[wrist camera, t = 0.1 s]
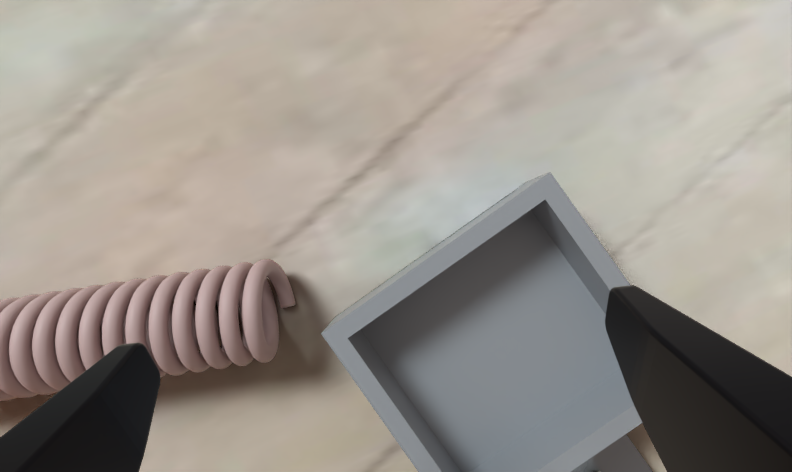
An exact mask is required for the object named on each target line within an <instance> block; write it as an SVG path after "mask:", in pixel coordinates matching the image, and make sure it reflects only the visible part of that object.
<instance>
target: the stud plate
mask: <svg viewBox="0 0 792 472" xmlns="http://www.w3.org/2000/svg"><path fill="white" fill-rule="evenodd" d="M599 470H600V471H601V472H653V471H652V470H651V468H650V467H649V465H648V464H647V463H646V461H645V460H644V458H643V457H642V456H641V454H640V453H639V451H638V450H637V449H636V447H635V446H634V444H633V443H632V441H631V440H630V439H629V437H628V436H627V434H625V435H624V436H622V437H621V438H619V439H618V440H616V441H615V442H613V443H612V444H610V445H609V446H608V447H606V448H605V449H603V450H602V451H600V452H599V453H597V454H596V455H594V456H593V457H591V458H590V459H588V460H587V461H585V462H584V463H583V464H581V465H580V466H578V467H577V468H575V469H574V470H572V471H571V472H598V471H599Z"/></svg>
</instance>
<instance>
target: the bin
mask: <svg viewBox="0 0 792 472" xmlns="http://www.w3.org/2000/svg"><path fill="white" fill-rule="evenodd" d="M628 285H630V284H629V282H628V281H627V280H626V278H625V277H624V275H623V274H622V273H621V271H620V270H619V268H618V267H617V265H616V264H615V263H614V261H613V260H612V258H611V257H610V256H609V254H608V253H607V251H606V250H605V249H604V247H603V246H602V244H601V243H600V242H599V240H598V239H597V237H596V236H595V235H594V233H593V232H592V230H591V229H590V227H589V226H588V225H587V223H586V222H585V220H584V219H583V218H582V216H581V215H580V213H579V212H578V211H577V209H576V208H575V206H574V205H573V204H572V202H571V201H570V199H569V198H568V197H567V195H566V194H565V192H564V191H563V189H562V188H561V187H560V185H559V184H558V182H557V181H556V180H555V178H554V177H553V175H552V174H551V173H550V172H549V173H547V174H544V175H542V176H540V177H537V178H535V179H532V180H530V181H527V182H526V183H524V184H523V185H521V186H520V187H519V188H517V189H516V190H514V191H513V192H512V193H510V194H509V195H507V196H506V197H504V198H503V199H502V200H500V201H499V202H497V203H496V204H495V205H493V206H492V207H490V208H489V209H487V210H486V211H485V212H483V213H482V214H480V215H479V216H478V217H476V218H475V219H473V220H472V221H470V222H469V223H468V224H466V225H465V226H463V227H462V228H460V229H459V230H458V231H456V232H455V233H453V234H452V235H451V236H449V237H448V238H446V239H445V240H443V241H442V242H441V243H439V244H438V245H436V246H435V247H434V248H432V249H431V250H429V251H428V252H426V253H425V254H424V255H422V256H421V257H419V258H418V259H417V260H415V261H414V262H412V263H411V264H409V265H408V266H407V267H405V268H404V269H402V270H401V271H399V272H398V273H397V274H395V275H394V276H392V277H391V278H390V279H388V280H387V281H385V282H384V283H382V284H381V285H380V286H378V287H377V288H375V289H374V290H373V291H371V292H370V293H368V294H367V295H365V296H364V297H363V298H361V299H360V300H358V301H357V302H356V303H354V304H353V305H351V306H350V307H348V308H347V309H346V310H344V311H343V312H341V313H340V314H338V315H337V316H336V317H335V318H334V319H333V320H332V321H331V322H330V324H329V325H328V326H327V327H326V328H325V330H324V331H323V332H322V333H321V334H322V336H323V337H324V339H325V340H326V341H327V343H328V344H329V346H330V347H331V348H332V350H333V351H334V353H335V354H336V356H337V357H338V358H339V360H340V361H341V363H342V364H343V366H344V367H345V368H346V370H347V371H348V373H349V374H350V375H351V377H352V378H353V380H354V381H355V383H356V384H357V385H358V387H359V388H360V390H361V391H362V392H363V394H364V395H365V397H366V398H367V400H368V401H369V402H370V404H371V405H372V407H373V408H374V409H375V411H376V412H377V414H378V415H379V417H380V418H381V419H382V421H383V422H384V424H385V425H386V426H387V428H388V429H389V431H390V432H391V434H392V435H393V436H394V438H395V439H396V441H397V442H398V443H399V445H400V446H401V448H402V449H403V451H404V452H405V453H406V455H407V456H408V458H409V459H410V460H411V462H412V463H413V465H414V466H415V468H416V469H417V470H418V472H571V471H572V470H574V469H575V468H577V467H578V466H580V465H581V464H583V463H584V462H585V461H587V460H588V459H590V458H591V457H593V456H594V455H596V454H597V453H599V452H600V451H602V450H603V449H605V448H606V447H608V446H609V445H610V444H612V443H613V442H615V441H616V440H618V439H619V438H621V437H622V436H624V435H625V434H627V433H628V432H630V431H631V430H633V429H634V428H635V427H637V426H638V425H640V424H641V423H642V421H641V419H640V417H639V415H638V413H637V410H636V408H635V406H634V404H633V402H632V399H631V396H630V394H629V391H628V389H627V386H626V383H625V380H624V378H623V375H622V372H621V370H620V367H619V364H618V361H617V359H616V356H615V353H614V351H613V348H612V345H611V342H610V340H609V337H608V334H607V331H606V327H605V316H606V310H607V303H608V296H609V292H610V290H611V289H612V288H614V287H619V286H628Z"/></svg>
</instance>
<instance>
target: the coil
mask: <svg viewBox="0 0 792 472" xmlns="http://www.w3.org/2000/svg"><path fill="white" fill-rule="evenodd" d="M266 277H268V278H269V279H270V281H271V282H272V284H273V286H274V288H275V291H276V293H277V296H278V299H279V303H280V307H281V308H285V307H289V306H293V305H296V303H295V299H294V295H293V292H292V289H291V286H290V283H289V280H288V278H287V276H286V274H285V272H284V271H283V269H282V268H281V267H280V266H279V265H278V264H277V263H276V262H274V261H273V260H270V259H262V260H260V261H258V262H256V263H255V264H254V265H253V264H251V263H248V262H243V263H239V264H237V265H235V266H234V267H230V266H218V267H216V268H214V269H212V270H209V269H197V270H195V271H193V272H191V273H186V272H178V273H174V274H172V275H170V276H163V275H158V276H153V277H151V278H149V279H132V280H130V281H128V282H113V283H109V284H107V285H93V286H88V287H86V288H73V289H68V290H65V291H63V292H61V291H53V292H48V293H45V294H42V295H28V296H24V297H22V298H8V299H4V300H1V301H0V401H5V400H12V399H15V398H17V397H18V398H25V397H32V396H36V395H38V394H41V395H44V394H53V393H57V392H58V391H60V390H62V389H63V388H64V387H66V386H67V385H68V384H69V383H71V382H72V381H73V380H75V379H76V378H77V377H78V376H80V375H81V374H82V373H84V372H85V371H86V370H87V369H89V368H90V367H91V366H93V365H94V364H95V363H96V362H98V361H99V360H100V359H101V358H103V357H104V356H105V355H107V354H108V353H109V352H110V351H112V350H113V349H114V348H116V347H117V346H119V345H122V344H128V343H142V344H143V345H145V346H146V348H147V350H148V351H149V353H150V355H151V357H152V359H153V360H154V362H155V364H156V366H157V367H158V369H159V372H160V378H161V377H163V376H164V375H166V374H167V373H168V374H170V375H182V374H184V373H186V372H187V371H188V370H191V371H193V372H203V371H205V370H207V369H208V368H209V367H211V366H212V367H214V368H215V369H224V368H226V367H228V366H229V365H231V364H232V362H233V363H235V364H236V365H238V366H245V365H248V364H249V363H251V362H252V361H253V359H254V358H255V359H256V360H257V361H259V362H262V363H267V362H269V361H271V360H272V359H273V358H274V356H275V355H276V353H277V350H278V345H279V323H278V315H277V309H276V305H275V301H274V297H273V294H272V291H271V288H270V285H269V283H268V281H267V279H266ZM245 279H246V280H245ZM172 300H173V302H174V304H173V303H172ZM194 301H195V303H196V310H195V306H194V303H193V302H194ZM151 302H152V303H151ZM216 302H217V305H218V307H219V322H218V317H217V312H216V308H215V305H216ZM238 305H239V308H240V313H241V318H242V327H243V338H242V339H241V335H240V329H239V320H238ZM79 324H80V326H79ZM100 326H101V328H102V335H101V331H100ZM219 327H220V334H221V339H222V345H221V348H220V346H219ZM123 340H124V343H123ZM102 344H103V350H104V351H103V353H102ZM199 347H200V350H201V351H200V353H199V352H198V350H199ZM178 356H179V357H178Z"/></svg>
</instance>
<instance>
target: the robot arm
mask: <svg viewBox="0 0 792 472" xmlns="http://www.w3.org/2000/svg"><path fill="white" fill-rule="evenodd" d="M605 327H606V331H607V334H608V337H609V340H610V342H611V345H612V348H613V351H614V353H615V356H616V359H617V361H618V364H619V367H620V370H621V372H622V375H623V378H624V380H625V383H626V386H627V389H628V391H629V394H630V396H631V399H632V402H633V404H634V406H635V408H636V410H637V413H638V415H639V417H640V419H641V421H642V423H643V425H644V427H645V429H646V431H647V433H648V435H649V437H650V439H651V441H652V443H653V445H654V447H655V449H656V451H657V453H658V455H659V457H660V458H661V460H662V462H663V464H664V466H665V468H666V470H667V472H792V377H791V376H790V375H788V374H786V373H784V372H783V371H781V370H779V369H777V368H776V367H774V366H772V365H771V364H769V363H767V362H765V361H764V360H762V359H760V358H759V357H757V356H755V355H753V354H752V353H750V352H748V351H747V350H745V349H743V348H741V347H740V346H738V345H736V344H735V343H733V342H731V341H729V340H728V339H726V338H724V337H723V336H721V335H719V334H717V333H716V332H714V331H712V330H711V329H709V328H707V327H705V326H704V325H702V324H700V323H699V322H697V321H695V320H693V319H692V318H690V317H688V316H686V315H685V314H683V313H681V312H680V311H678V310H676V309H674V308H673V307H671V306H669V305H668V304H666V303H664V302H662V301H661V300H659V299H657V298H656V297H654V296H652V295H650V294H649V293H647V292H645V291H644V290H642V289H640V288H638V287H636V286H634V285H628V286H619V287H614V288H612V289H611V290H610V292H609V296H608V303H607V310H606V316H605ZM159 386H160V372H159V369H158V367H157V366H156V364H155V362H154V360H153V359H152V357H151V355H150V353H149V351H148V350H147V348H146V346H145V345H143V344H142V343H128V344H122V345H119V346H117V347H116V348H114V349H113V350H112V351H110V352H109V353H108V354H107V355H105V356H104V357H103V358H101V359H100V360H99V361H98V362H96V363H95V364H94V365H93V366H91V367H90V368H89V369H87V370H86V371H85V372H84V373H82V374H81V375H80V376H78V377H77V378H76V379H75V380H73V381H72V382H71V383H69V384H68V385H67V386H66V387H64V388H63V389H62V390H60V391H59V392H58V393H57V394H55V395H54V396H53V397H52V398H50V399H49V400H48V401H46V402H45V403H44V404H43V405H41V406H40V407H39V408H37V409H36V410H35V411H34V412H32V413H31V414H30V415H28V416H27V417H26V418H25V419H23V420H22V421H21V422H19V423H18V424H17V425H16V426H14V427H13V428H12V429H11V430H9V431H8V432H7V433H5V434H4V435H3V436H2V437H0V472H139V469H140V466H141V462H142V459H143V456H144V452H145V448H146V444H147V440H148V435H149V431H150V426H151V422H152V417H153V413H154V408H155V404H156V399H157V395H158V390H159Z"/></svg>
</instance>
